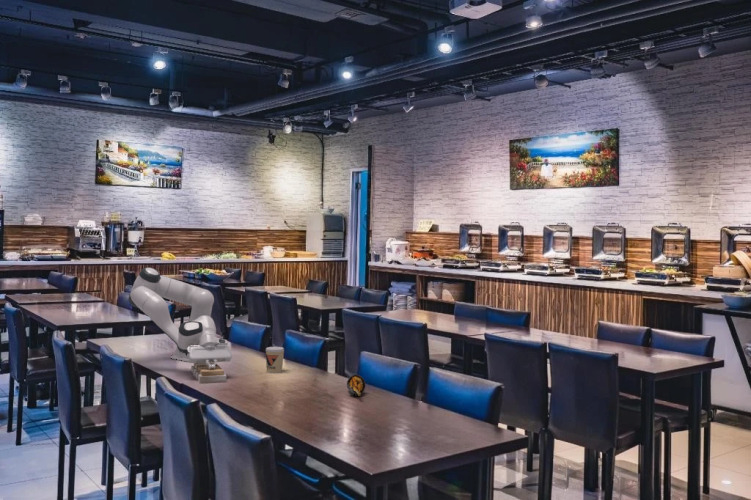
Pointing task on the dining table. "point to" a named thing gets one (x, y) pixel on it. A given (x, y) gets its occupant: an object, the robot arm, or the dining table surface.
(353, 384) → the fried shrimp in bowl
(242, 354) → the dining table surface
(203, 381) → the floor base
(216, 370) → the plank
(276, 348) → the coffee cup
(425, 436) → the dining table surface
